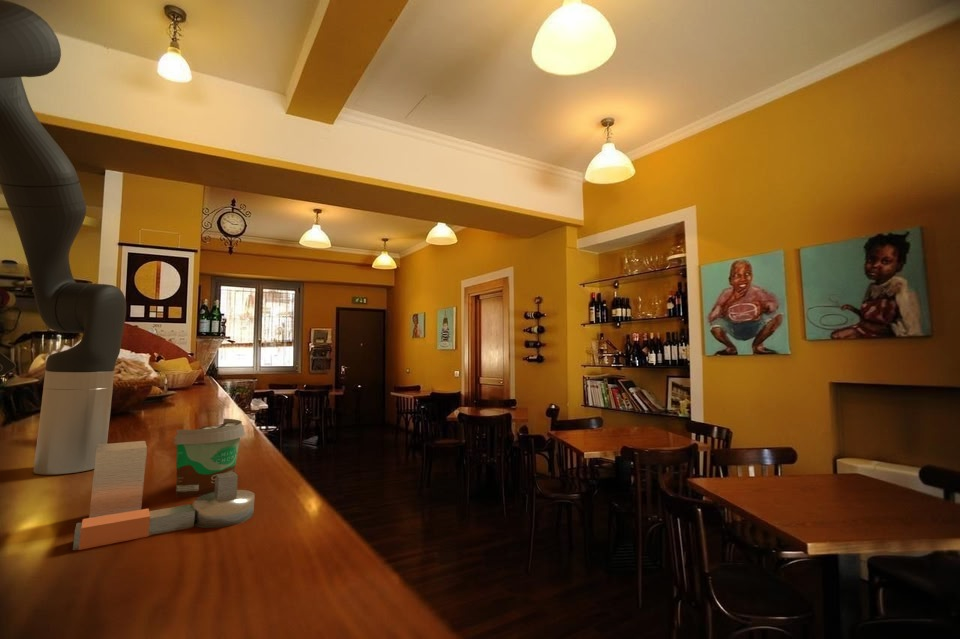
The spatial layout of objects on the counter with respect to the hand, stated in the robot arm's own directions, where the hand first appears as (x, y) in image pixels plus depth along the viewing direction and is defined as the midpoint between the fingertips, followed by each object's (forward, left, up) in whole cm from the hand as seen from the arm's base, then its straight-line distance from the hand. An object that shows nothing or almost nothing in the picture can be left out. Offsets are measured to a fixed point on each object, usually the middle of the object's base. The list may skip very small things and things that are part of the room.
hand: (1, 373), depth 50 cm
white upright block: (0, +12, -18) cm, 22 cm away
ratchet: (+8, +17, -19) cm, 26 cm away
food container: (-7, +24, -19) cm, 31 cm away
